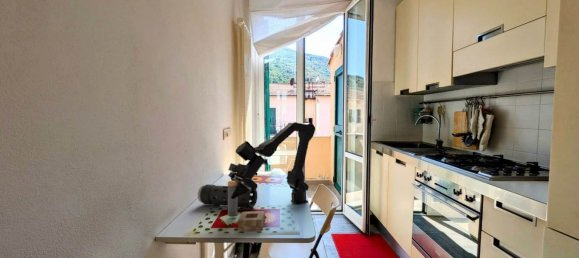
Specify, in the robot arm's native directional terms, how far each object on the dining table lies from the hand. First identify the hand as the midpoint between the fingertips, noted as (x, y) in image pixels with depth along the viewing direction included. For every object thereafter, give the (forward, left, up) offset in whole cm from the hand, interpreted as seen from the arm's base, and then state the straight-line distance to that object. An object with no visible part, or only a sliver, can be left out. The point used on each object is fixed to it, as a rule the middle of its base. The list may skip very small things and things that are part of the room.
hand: (229, 197), depth 109 cm
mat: (-1, 0, -9) cm, 10 cm away
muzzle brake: (-3, -17, -10) cm, 20 cm away
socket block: (-5, +11, -9) cm, 15 cm away
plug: (-1, 0, -8) cm, 8 cm away
